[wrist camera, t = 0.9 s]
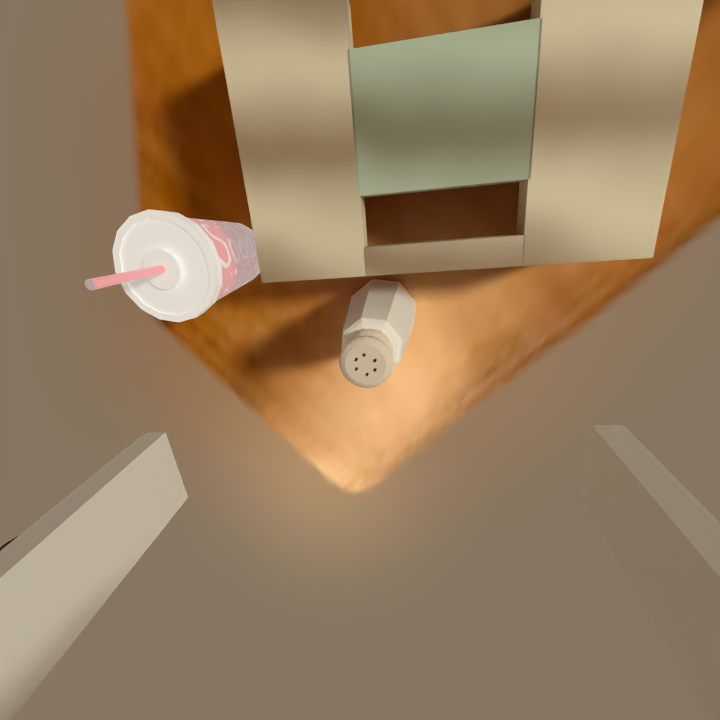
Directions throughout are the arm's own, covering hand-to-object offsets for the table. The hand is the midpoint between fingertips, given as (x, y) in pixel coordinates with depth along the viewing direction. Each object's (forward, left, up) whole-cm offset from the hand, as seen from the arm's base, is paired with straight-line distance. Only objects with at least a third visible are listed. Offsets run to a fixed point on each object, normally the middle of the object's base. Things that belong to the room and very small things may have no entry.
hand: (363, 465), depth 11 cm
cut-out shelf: (-11, +3, -19) cm, 22 cm away
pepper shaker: (0, -1, -19) cm, 19 cm away
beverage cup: (-6, -12, -19) cm, 23 cm away
